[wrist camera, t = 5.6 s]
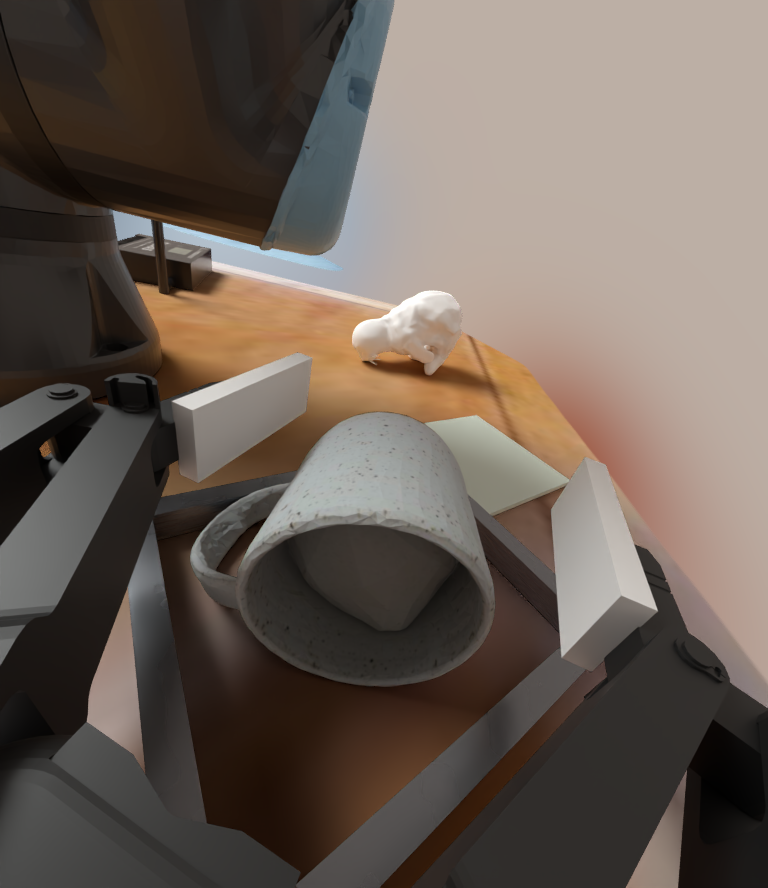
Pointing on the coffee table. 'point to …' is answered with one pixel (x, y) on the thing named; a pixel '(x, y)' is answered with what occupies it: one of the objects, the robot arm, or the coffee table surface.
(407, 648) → the ceramic mug
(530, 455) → the grey-green mat
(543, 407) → the coffee table surface
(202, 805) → the square frame
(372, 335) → the white figurine
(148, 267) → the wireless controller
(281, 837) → the coffee table surface
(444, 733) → the coffee table surface
